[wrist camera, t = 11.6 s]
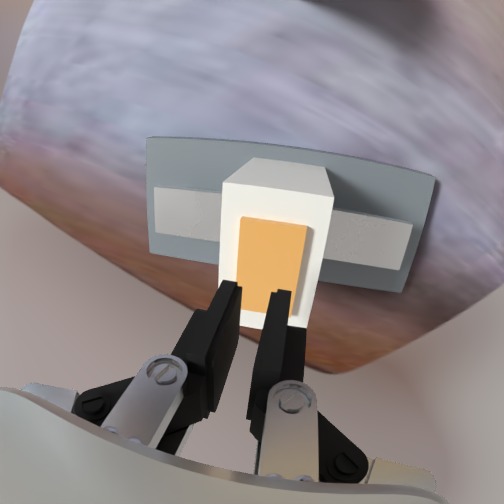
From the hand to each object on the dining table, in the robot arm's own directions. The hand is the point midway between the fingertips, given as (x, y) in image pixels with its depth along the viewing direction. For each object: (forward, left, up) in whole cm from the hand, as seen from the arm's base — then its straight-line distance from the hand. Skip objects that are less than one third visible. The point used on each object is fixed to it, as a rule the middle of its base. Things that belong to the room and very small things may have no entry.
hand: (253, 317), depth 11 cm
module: (0, 0, -12) cm, 12 cm away
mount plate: (0, 0, -13) cm, 13 cm away
